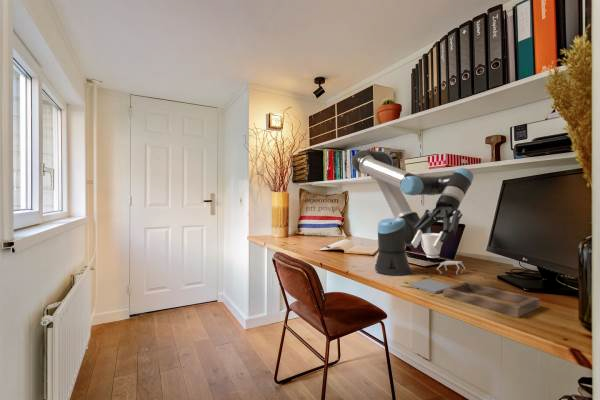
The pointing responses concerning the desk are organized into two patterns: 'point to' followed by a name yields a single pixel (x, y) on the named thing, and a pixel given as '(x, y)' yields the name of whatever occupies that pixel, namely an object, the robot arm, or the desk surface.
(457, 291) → the tray
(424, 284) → the grey mat
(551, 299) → the desk surface
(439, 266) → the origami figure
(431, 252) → the cup
